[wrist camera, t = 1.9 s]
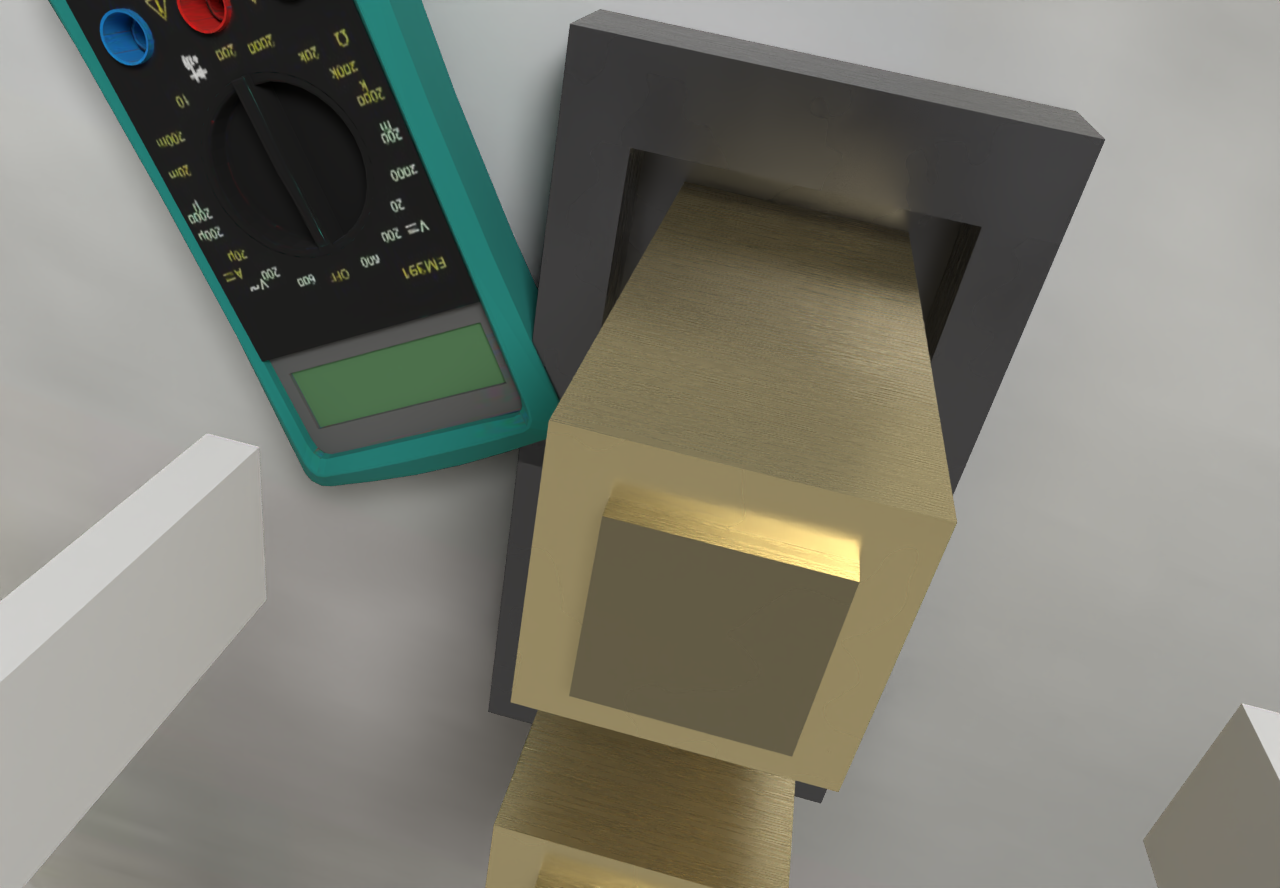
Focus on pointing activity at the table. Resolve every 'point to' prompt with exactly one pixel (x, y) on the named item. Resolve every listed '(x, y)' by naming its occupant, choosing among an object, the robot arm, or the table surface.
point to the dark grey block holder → (801, 177)
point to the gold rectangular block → (636, 816)
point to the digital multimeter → (334, 220)
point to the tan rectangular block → (741, 492)
